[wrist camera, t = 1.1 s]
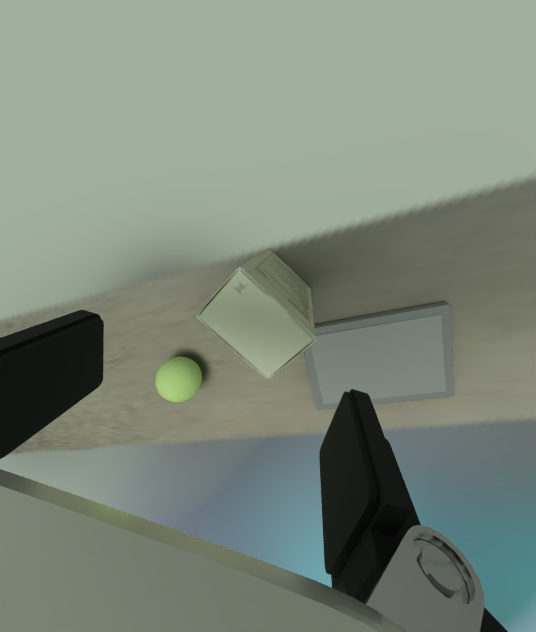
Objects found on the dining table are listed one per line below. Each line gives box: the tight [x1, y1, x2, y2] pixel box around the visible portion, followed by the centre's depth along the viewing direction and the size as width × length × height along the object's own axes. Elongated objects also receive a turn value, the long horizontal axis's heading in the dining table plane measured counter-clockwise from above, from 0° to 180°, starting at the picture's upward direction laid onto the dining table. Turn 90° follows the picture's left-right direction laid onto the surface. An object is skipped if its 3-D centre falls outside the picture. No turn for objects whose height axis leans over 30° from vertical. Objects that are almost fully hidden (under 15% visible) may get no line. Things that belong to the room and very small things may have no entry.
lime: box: [156, 357, 202, 402], centre depth 29 cm, size 5×5×5 cm
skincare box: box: [197, 249, 316, 379], centre depth 20 cm, size 6×4×12 cm
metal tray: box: [304, 302, 454, 410], centre depth 26 cm, size 14×10×1 cm
